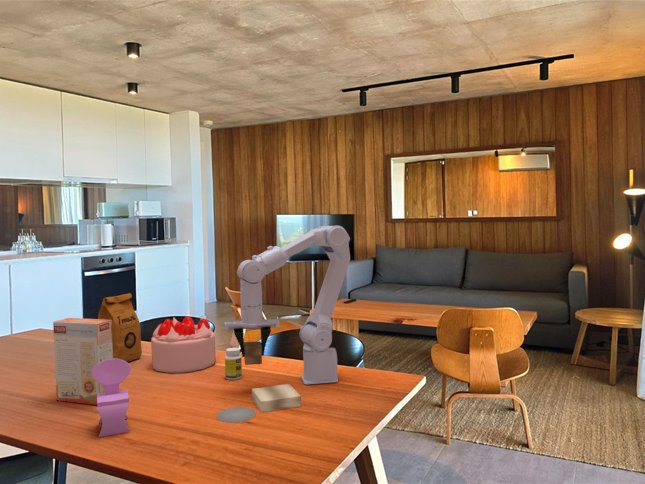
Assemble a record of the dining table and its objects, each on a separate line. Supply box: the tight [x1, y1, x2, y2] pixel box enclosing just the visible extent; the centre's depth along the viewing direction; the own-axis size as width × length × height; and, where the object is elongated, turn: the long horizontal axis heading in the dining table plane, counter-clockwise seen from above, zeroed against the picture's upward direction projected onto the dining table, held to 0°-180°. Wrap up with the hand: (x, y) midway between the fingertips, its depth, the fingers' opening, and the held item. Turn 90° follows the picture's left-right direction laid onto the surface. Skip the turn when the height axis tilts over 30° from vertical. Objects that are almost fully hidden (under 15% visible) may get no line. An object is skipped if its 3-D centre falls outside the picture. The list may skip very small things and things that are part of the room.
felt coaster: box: [216, 406, 256, 424], centre depth 121 cm, size 9×9×1 cm
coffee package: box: [97, 292, 143, 363], centre depth 169 cm, size 10×12×22 cm
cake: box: [150, 315, 217, 374], centre depth 164 cm, size 20×20×14 cm
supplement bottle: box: [224, 347, 243, 381], centre depth 150 cm, size 5×5×8 cm
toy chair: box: [91, 359, 132, 438], centre depth 115 cm, size 8×9×15 cm
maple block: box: [251, 383, 302, 413], centre depth 129 cm, size 10×10×3 cm
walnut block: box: [243, 340, 263, 366], centre depth 138 cm, size 4×4×5 cm
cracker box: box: [52, 317, 113, 406], centre depth 133 cm, size 14×6×21 cm, turn 71°
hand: (252, 355), depth 138 cm, fingers closed on walnut block, 4 cm apart
